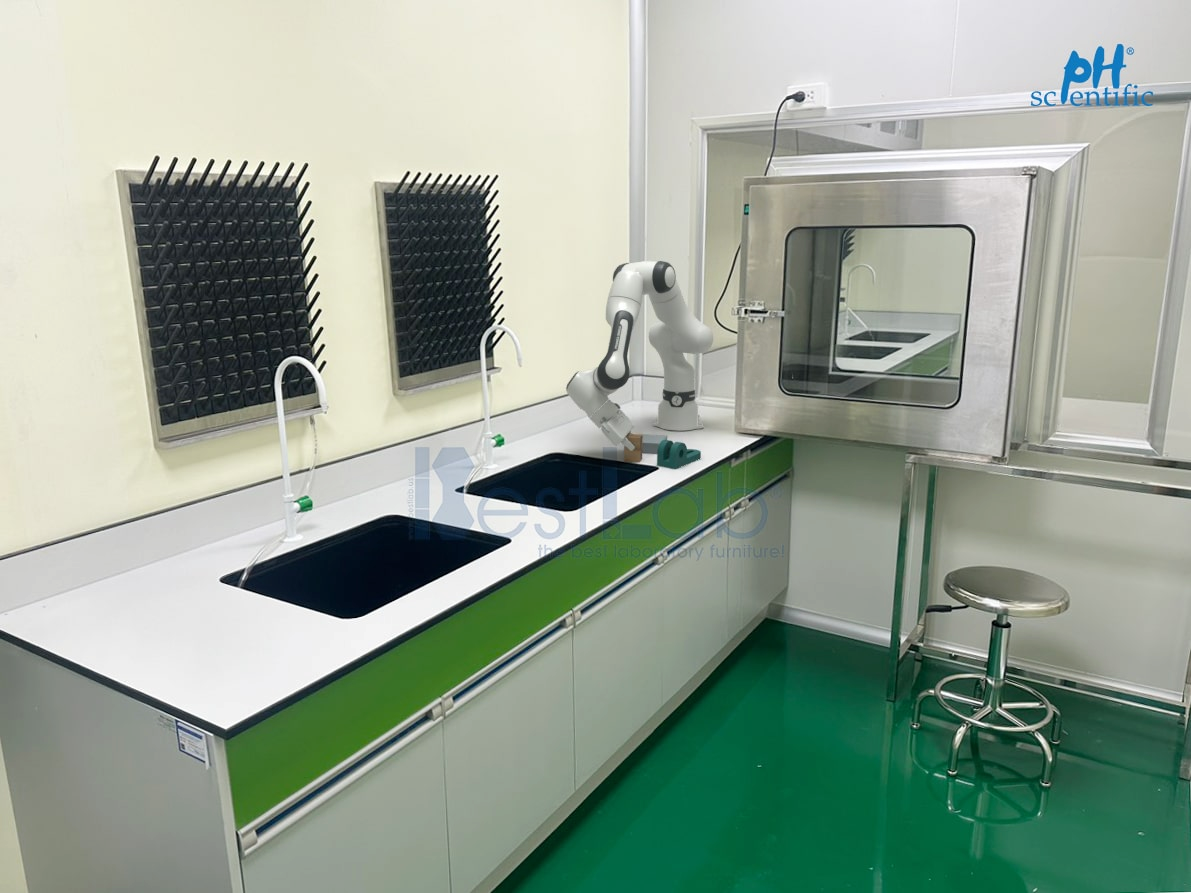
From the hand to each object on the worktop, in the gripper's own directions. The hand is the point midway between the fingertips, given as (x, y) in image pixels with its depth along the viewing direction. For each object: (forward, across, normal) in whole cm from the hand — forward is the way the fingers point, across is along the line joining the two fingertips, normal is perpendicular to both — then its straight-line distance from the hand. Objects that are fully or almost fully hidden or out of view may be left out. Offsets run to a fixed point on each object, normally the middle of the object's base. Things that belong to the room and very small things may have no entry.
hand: (635, 446), depth 276 cm
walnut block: (+3, 0, +4) cm, 4 cm away
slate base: (+4, +15, +2) cm, 16 cm away
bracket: (+14, +2, -7) cm, 15 cm away
